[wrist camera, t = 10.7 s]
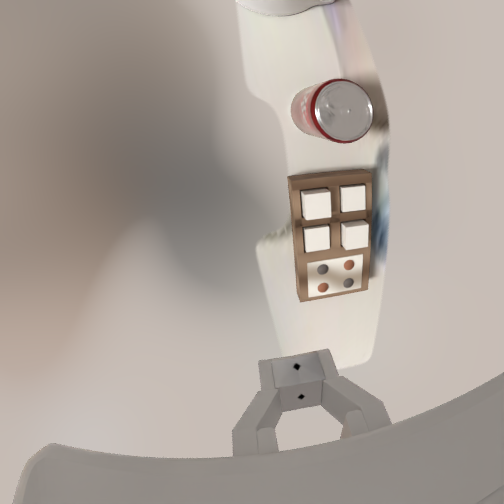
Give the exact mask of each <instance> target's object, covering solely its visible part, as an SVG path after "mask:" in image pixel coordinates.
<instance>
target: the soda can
mask: <svg viewBox="0 0 504 504" xmlns="http://www.w3.org/2000/svg"><path fill="white" fill-rule="evenodd" d="M291 116H292V119H293V122H294V123H295V125H296V126H297V127H298V128H299V129H300V130H301V131H302V132H304V133H306V134H308V135H311V136H315V137H319V138H323V139H326V140H330V141H333V142H337V143H352V142H355V141H357V140H359V139H360V138H362V137H363V136H364V135H365V134H366V133H367V132H368V130H369V129H370V127H371V124H372V121H373V105H372V102H371V100H370V98H369V96H368V94H367V93H366V92H365V90H364V89H363V88H362V87H360V86H359V85H358V84H356V83H355V82H353V81H350V80H347V79H332V80H329V81H325V82H322V83H319V84H317V85H314V86H311V87H308V88H305V89H303V90H301V91H300V92H299V93H298V94H297V95H296V96H295V97H294V99H293V101H292V104H291Z"/></svg>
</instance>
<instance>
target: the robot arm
mask: <svg viewBox="0 0 504 504" xmlns="http://www.w3.org/2000/svg"><path fill="white" fill-rule="evenodd" d="M235 1H236V2H237V3H239V4H240V5H242V6H243V7H245V8H247V9H249V10H252V11H254V12H257V13H261V14H265V15H272V16H286V15H293V14H297V13H300V12H303V11H305V10H307V9H309V8H310V7H312V6H315V5H322V4H330V3H333V2H334V1H335V0H235ZM258 365H259V373H260V382H261V391H258V392H257V394H256V396H255V397H254V399H253V400H252V402H251V403H250V405H249V406H248V408H247V409H246V411H245V412H244V414H243V415H242V417H241V418H240V420H239V421H238V423H237V424H236V426H235V427H234V429H233V430H232V441H233V457H221V458H155V457H140V456H129V455H118V454H111V453H104V452H97V451H90V450H85V449H79V448H74V447H69V446H65V445H61V444H56V443H51V444H48V445H47V446H45V447H44V448H42V449H41V450H39V451H38V452H37V453H36V454H35V455H34V456H32V457H31V458H30V459H29V460H28V461H27V463H26V465H25V467H24V469H23V471H22V473H21V476H20V479H19V482H18V485H17V489H16V492H15V496H14V500H13V503H12V504H504V372H503V373H502V374H500V375H498V376H497V377H495V378H493V379H491V380H490V381H488V382H486V383H484V384H483V385H481V386H479V387H477V388H475V389H473V390H471V391H469V392H467V393H466V394H464V395H461V396H459V397H457V398H455V399H453V400H451V401H449V402H447V403H445V404H442V405H440V406H438V407H436V408H433V409H431V410H429V411H426V412H424V413H421V414H419V415H416V416H414V417H411V418H408V419H406V420H403V421H400V422H397V423H395V424H392V423H391V421H390V418H389V416H388V413H387V411H386V409H385V406H384V404H383V402H382V401H381V400H379V399H377V398H376V397H374V396H373V395H371V394H369V393H368V392H367V391H365V390H363V389H362V388H360V387H359V386H357V385H356V384H354V383H353V382H351V381H350V380H348V379H347V378H345V377H344V376H339V374H338V372H337V369H336V366H335V363H334V361H333V358H332V355H331V353H330V350H329V349H324V350H319V351H313V352H309V353H303V354H298V355H294V356H288V357H281V358H274V359H271V360H270V359H268V360H260V361H259V363H258ZM271 365H272V366H271ZM317 405H321V406H322V407H323V408H324V409H325V410H327V411H328V412H329V413H330V414H331V415H332V416H333V417H335V418H336V419H337V420H338V421H339V422H340V423H341V424H342V425H343V429H342V433H341V437H340V440H337V441H332V442H328V443H323V444H319V445H314V446H309V447H304V448H299V449H292V450H286V451H280V452H279V450H278V445H277V439H276V433H275V427H276V425H277V423H278V421H279V419H280V417H281V415H282V412H285V411H291V410H296V409H300V408H306V407H312V406H317Z"/></svg>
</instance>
